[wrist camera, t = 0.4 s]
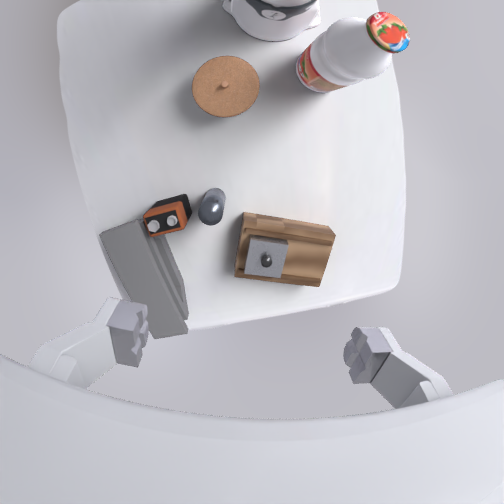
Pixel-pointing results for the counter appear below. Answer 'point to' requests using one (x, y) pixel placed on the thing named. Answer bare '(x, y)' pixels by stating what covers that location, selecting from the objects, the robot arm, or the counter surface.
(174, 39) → the counter surface
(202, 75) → the lidded jar
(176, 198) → the battery
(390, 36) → the fruit juice
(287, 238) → the socket block
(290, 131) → the counter surface
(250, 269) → the square lid with knob
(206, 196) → the grey rounded cylinder
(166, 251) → the grey storage box
